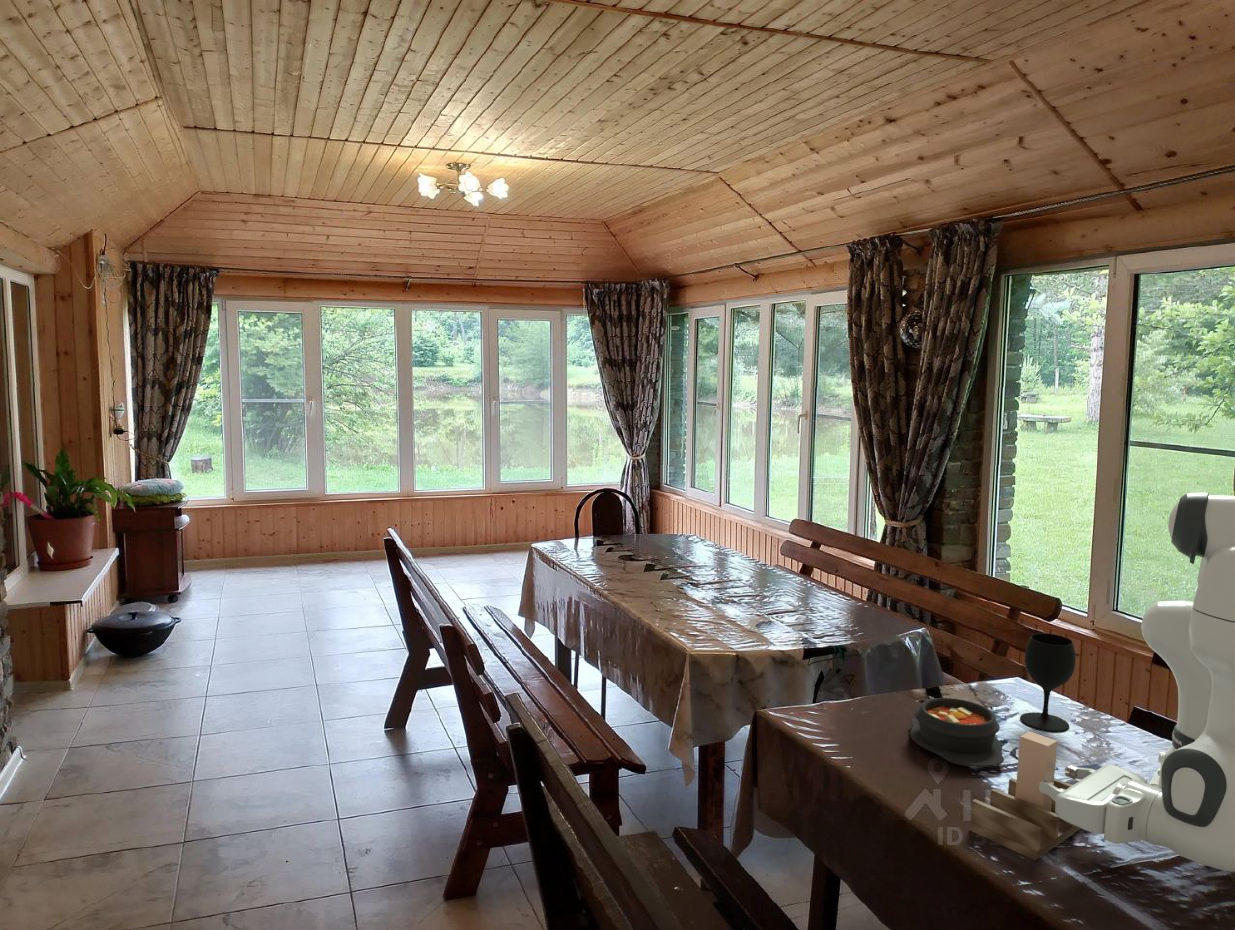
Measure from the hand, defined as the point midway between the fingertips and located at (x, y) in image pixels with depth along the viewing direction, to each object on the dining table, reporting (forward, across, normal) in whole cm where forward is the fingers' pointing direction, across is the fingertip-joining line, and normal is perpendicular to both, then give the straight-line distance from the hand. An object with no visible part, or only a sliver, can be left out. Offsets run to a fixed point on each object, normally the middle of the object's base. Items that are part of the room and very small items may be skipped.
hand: (1054, 777), depth 159 cm
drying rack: (+3, 0, +10) cm, 11 cm away
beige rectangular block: (+3, 0, +9) cm, 10 cm away
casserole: (+29, -18, +11) cm, 36 cm away
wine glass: (+24, -47, +11) cm, 54 cm away
